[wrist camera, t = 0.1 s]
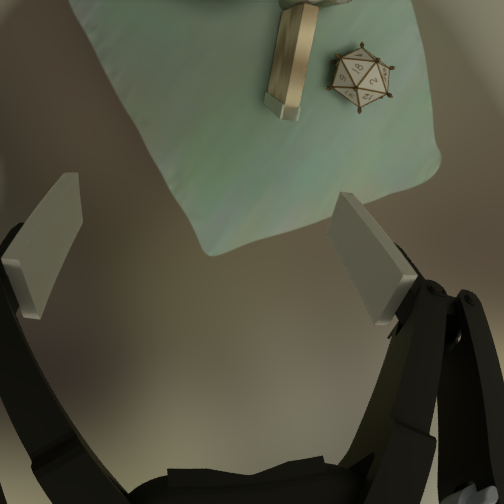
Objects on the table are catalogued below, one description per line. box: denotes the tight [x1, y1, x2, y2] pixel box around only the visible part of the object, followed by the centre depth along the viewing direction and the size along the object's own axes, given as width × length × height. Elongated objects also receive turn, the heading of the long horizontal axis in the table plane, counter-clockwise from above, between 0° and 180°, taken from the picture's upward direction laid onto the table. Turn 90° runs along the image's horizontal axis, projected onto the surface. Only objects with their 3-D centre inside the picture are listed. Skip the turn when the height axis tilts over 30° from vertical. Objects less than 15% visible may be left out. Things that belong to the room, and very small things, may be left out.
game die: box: [326, 42, 395, 114], centre depth 34 cm, size 9×8×10 cm
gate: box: [264, 3, 319, 122], centre depth 30 cm, size 13×2×9 cm, turn 171°
